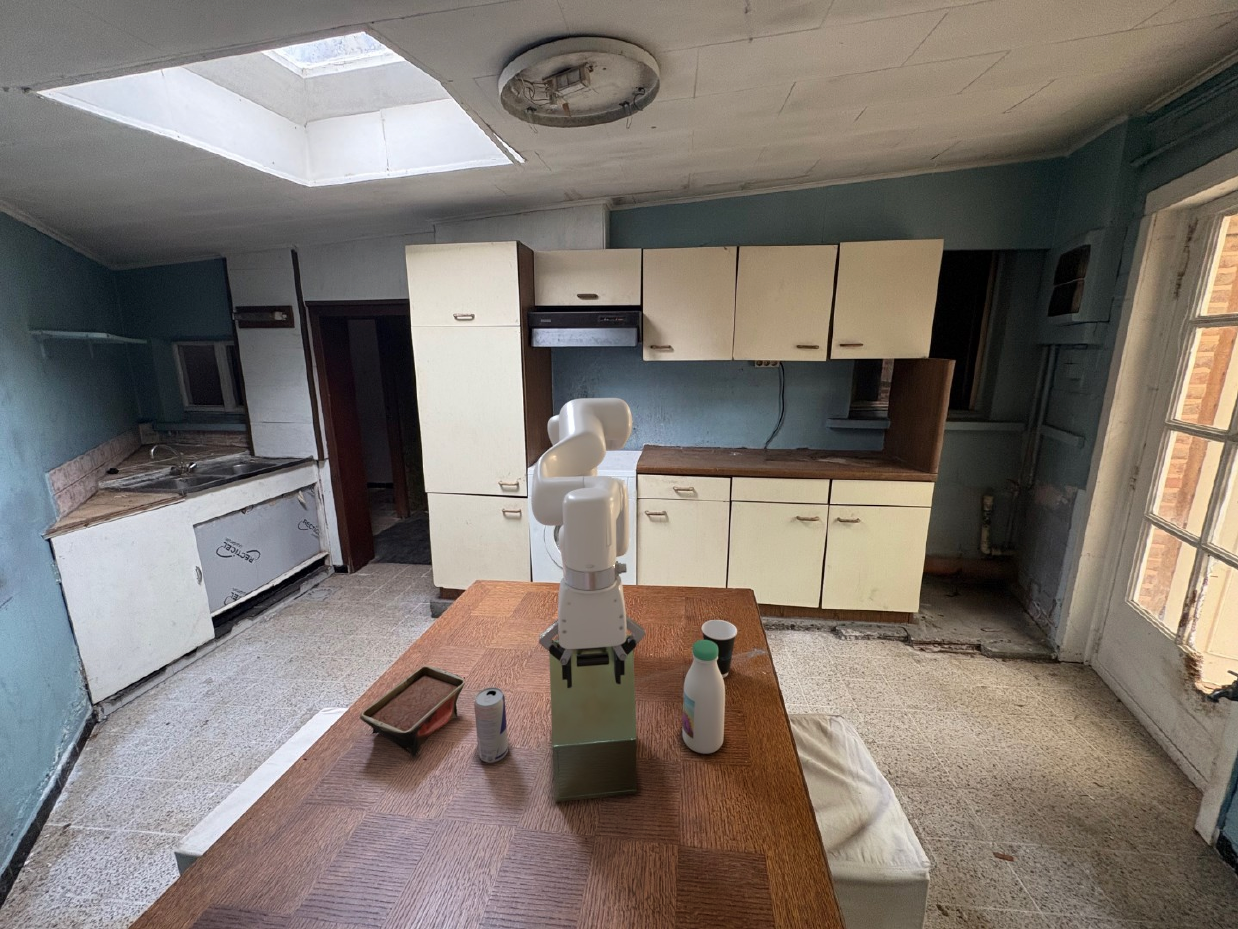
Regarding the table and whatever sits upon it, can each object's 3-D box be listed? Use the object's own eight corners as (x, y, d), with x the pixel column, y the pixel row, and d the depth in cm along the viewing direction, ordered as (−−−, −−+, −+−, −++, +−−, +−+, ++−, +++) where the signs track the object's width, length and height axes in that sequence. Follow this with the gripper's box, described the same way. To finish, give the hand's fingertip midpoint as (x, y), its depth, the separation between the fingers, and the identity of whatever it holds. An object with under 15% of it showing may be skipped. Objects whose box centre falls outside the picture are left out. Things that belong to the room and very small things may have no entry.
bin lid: (549, 640, 81) (547, 650, 76) (632, 634, 82) (636, 644, 77) (552, 743, 80) (551, 760, 75) (636, 735, 82) (640, 751, 77)
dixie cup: (703, 658, 120) (704, 617, 118) (737, 665, 118) (739, 622, 115) (697, 678, 113) (698, 635, 111) (732, 686, 111) (734, 641, 108)
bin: (556, 732, 98) (554, 684, 95) (625, 726, 99) (624, 678, 97) (555, 802, 83) (552, 747, 80) (636, 793, 84) (636, 739, 82)
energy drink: (512, 742, 95) (508, 687, 93) (503, 765, 90) (498, 707, 87) (484, 740, 96) (480, 685, 93) (474, 763, 91) (469, 705, 88)
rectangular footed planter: (474, 722, 103) (473, 675, 103) (400, 773, 88) (399, 718, 87) (425, 705, 110) (424, 660, 110) (348, 750, 94) (347, 698, 94)
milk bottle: (725, 729, 98) (729, 638, 93) (720, 759, 91) (724, 662, 86) (686, 720, 100) (688, 631, 96) (678, 749, 93) (680, 653, 89)
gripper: (645, 559, 77) (645, 661, 81) (532, 565, 76) (537, 669, 80) (654, 581, 70) (653, 692, 74) (529, 588, 68) (535, 701, 72)
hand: (593, 679), depth 77 cm, fingers open, 6 cm apart
